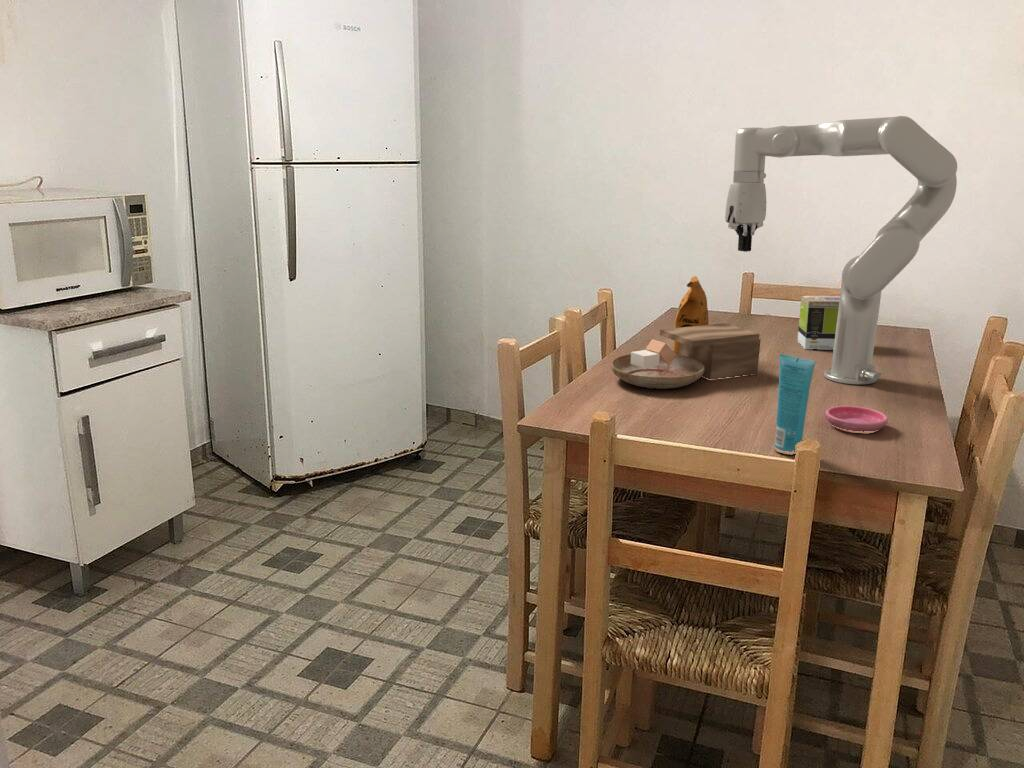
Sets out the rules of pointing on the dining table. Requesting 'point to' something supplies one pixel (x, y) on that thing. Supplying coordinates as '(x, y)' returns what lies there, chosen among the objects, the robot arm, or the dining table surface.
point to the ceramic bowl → (659, 372)
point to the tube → (792, 400)
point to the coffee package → (691, 309)
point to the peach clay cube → (661, 350)
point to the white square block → (645, 358)
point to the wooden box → (719, 348)
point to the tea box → (818, 322)
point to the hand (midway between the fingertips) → (744, 250)
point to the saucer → (856, 418)
